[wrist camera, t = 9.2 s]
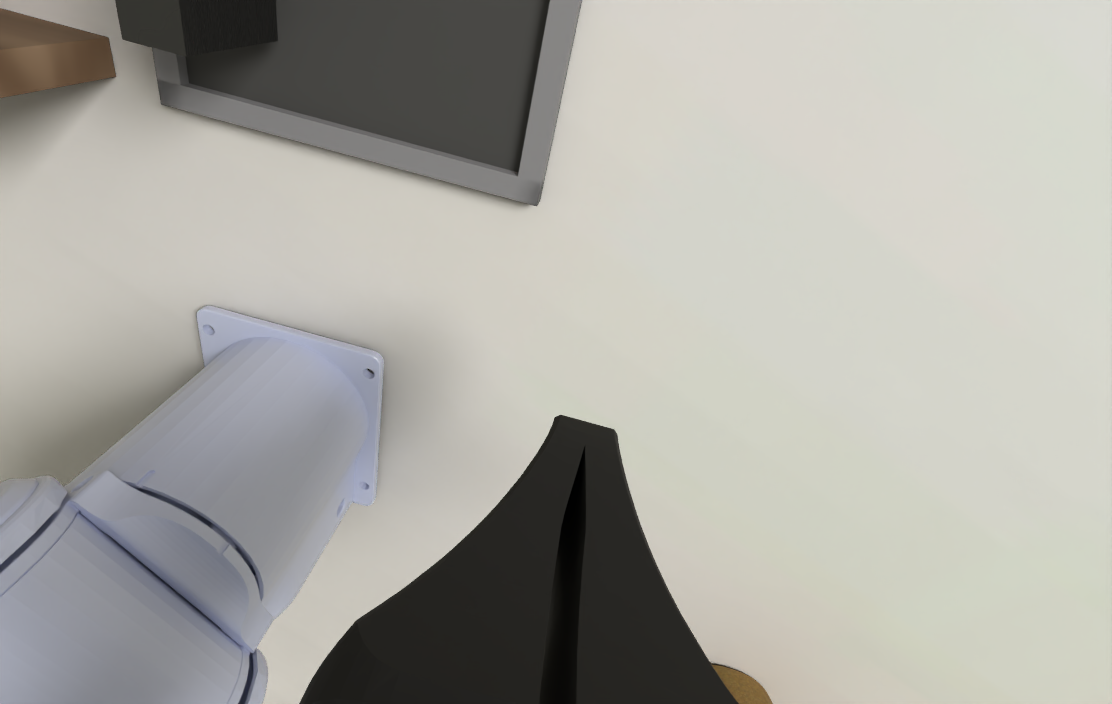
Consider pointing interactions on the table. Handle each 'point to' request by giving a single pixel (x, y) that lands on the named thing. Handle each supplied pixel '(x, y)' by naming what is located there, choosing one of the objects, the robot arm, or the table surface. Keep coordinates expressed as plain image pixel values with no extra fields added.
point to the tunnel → (48, 55)
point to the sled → (197, 24)
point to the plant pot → (742, 686)
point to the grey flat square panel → (399, 85)
